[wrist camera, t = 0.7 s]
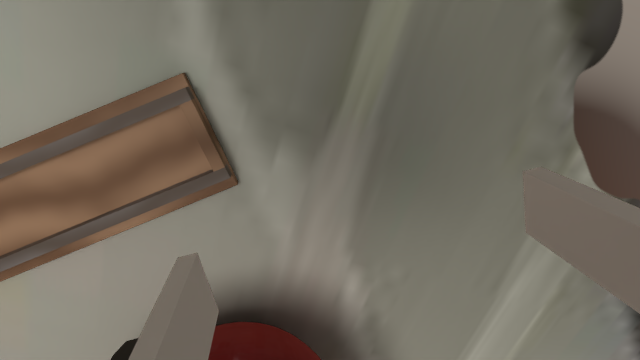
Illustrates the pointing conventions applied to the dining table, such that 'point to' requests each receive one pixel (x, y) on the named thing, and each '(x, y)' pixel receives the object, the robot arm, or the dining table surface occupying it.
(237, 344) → the mixing bowl
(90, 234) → the tray
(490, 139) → the dining table surface
